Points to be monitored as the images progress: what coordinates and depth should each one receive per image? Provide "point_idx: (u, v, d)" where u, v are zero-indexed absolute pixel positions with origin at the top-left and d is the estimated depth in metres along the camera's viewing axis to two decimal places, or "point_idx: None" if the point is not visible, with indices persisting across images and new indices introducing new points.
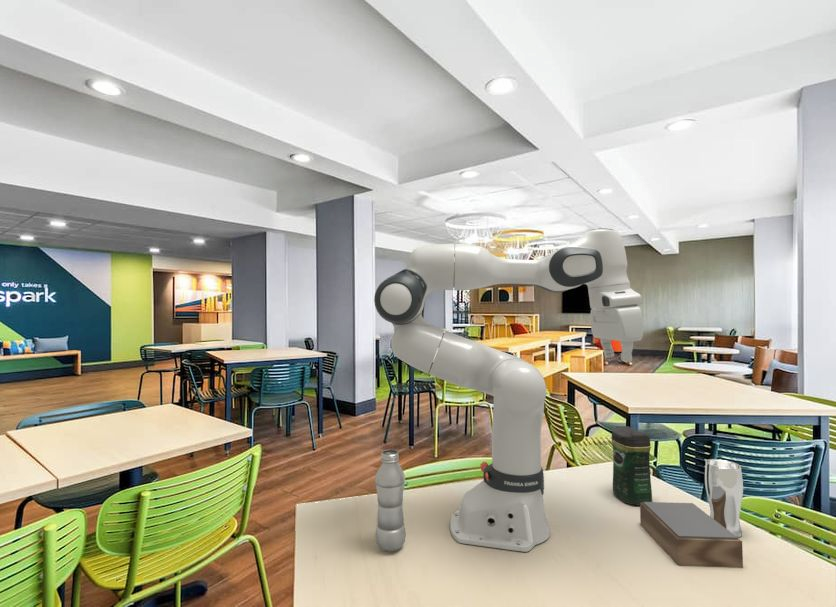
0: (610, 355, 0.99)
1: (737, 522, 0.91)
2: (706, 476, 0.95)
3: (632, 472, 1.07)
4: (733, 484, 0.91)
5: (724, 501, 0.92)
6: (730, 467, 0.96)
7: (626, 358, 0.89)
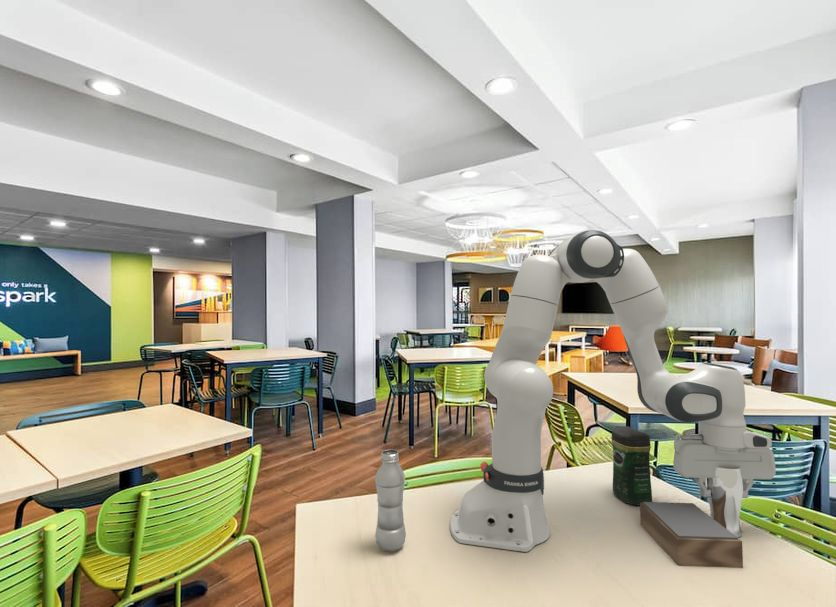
0: None
1: (737, 522, 0.91)
2: None
3: (632, 472, 1.07)
4: (733, 484, 0.91)
5: (724, 501, 0.92)
6: None
7: None
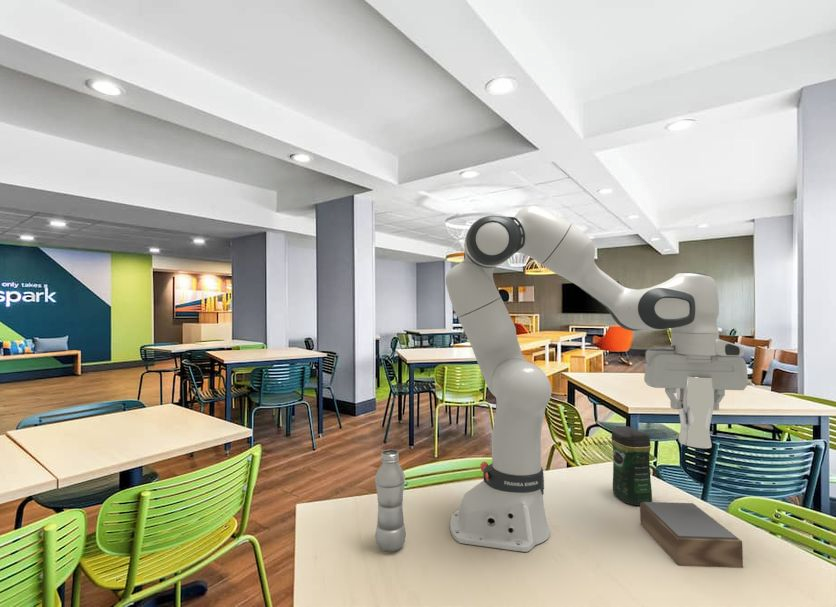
0: None
1: (707, 433, 0.89)
2: (678, 388, 0.92)
3: (632, 472, 1.07)
4: (704, 393, 0.88)
5: (694, 411, 0.89)
6: None
7: None
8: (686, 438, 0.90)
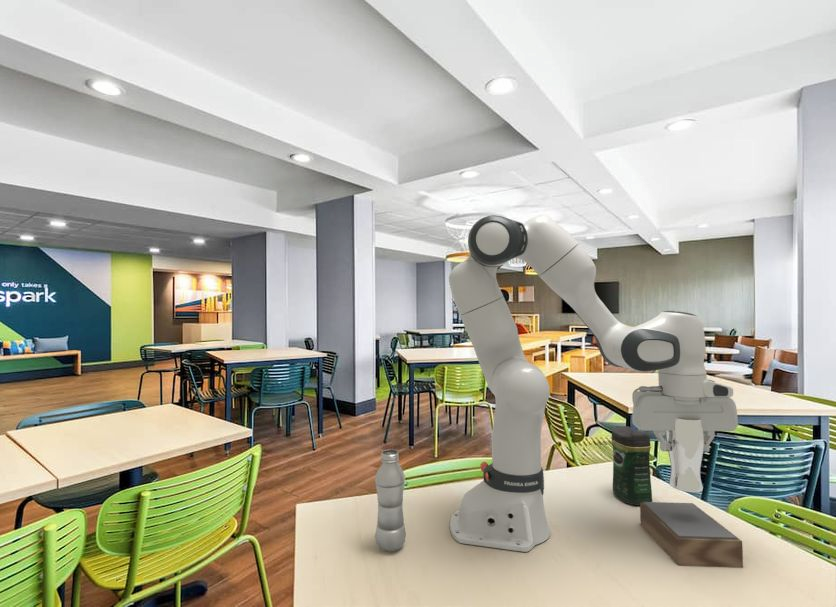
0: None
1: (697, 476, 0.87)
2: None
3: (632, 472, 1.07)
4: (693, 436, 0.86)
5: (684, 454, 0.87)
6: None
7: None
8: (676, 481, 0.88)
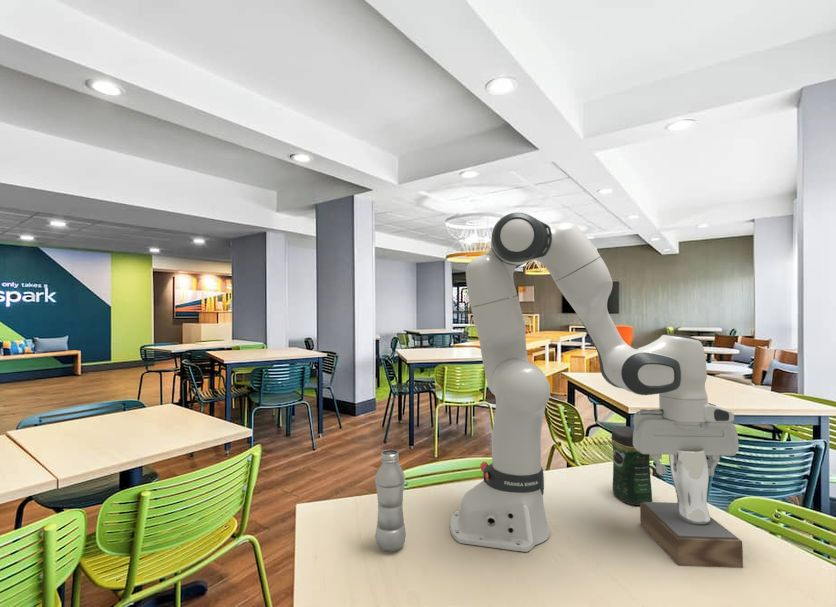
0: None
1: (704, 507, 0.86)
2: (670, 461, 0.90)
3: (632, 472, 1.07)
4: (697, 468, 0.86)
5: (690, 487, 0.86)
6: None
7: None
8: (684, 514, 0.87)
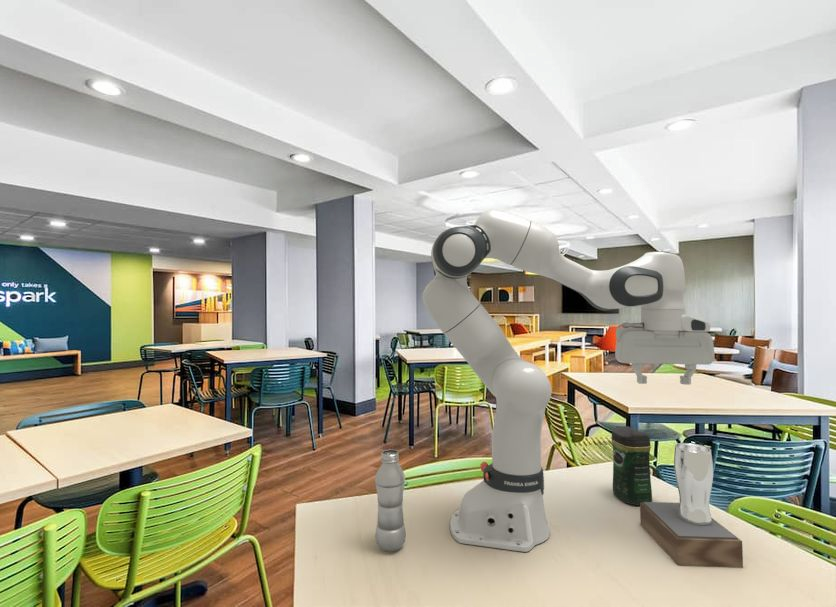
0: None
1: (707, 509, 0.86)
2: (675, 461, 0.90)
3: (632, 472, 1.07)
4: (702, 469, 0.86)
5: (693, 487, 0.86)
6: (700, 451, 0.91)
7: None
8: (686, 514, 0.87)
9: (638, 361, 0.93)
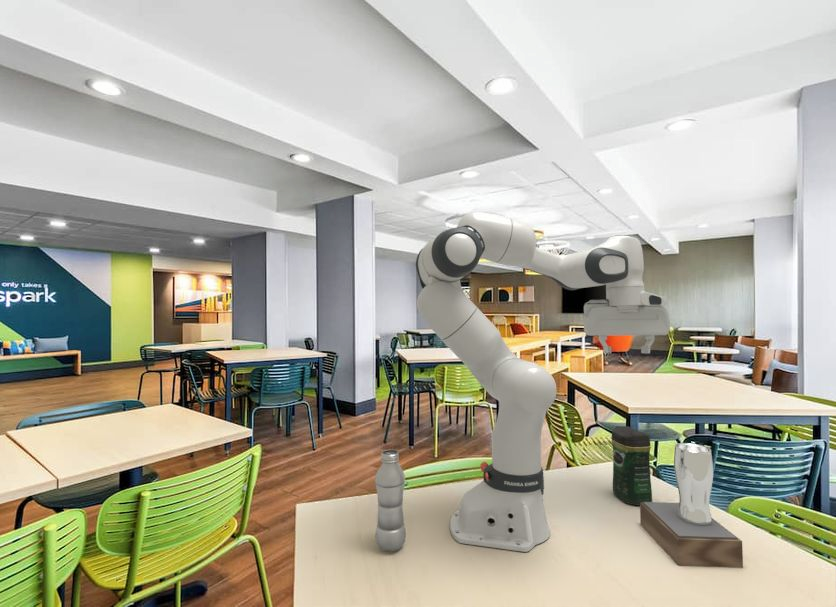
0: None
1: (707, 509, 0.86)
2: (675, 461, 0.90)
3: (632, 472, 1.07)
4: (702, 469, 0.86)
5: (693, 487, 0.86)
6: (700, 451, 0.91)
7: None
8: (686, 514, 0.87)
9: (603, 333, 1.05)
